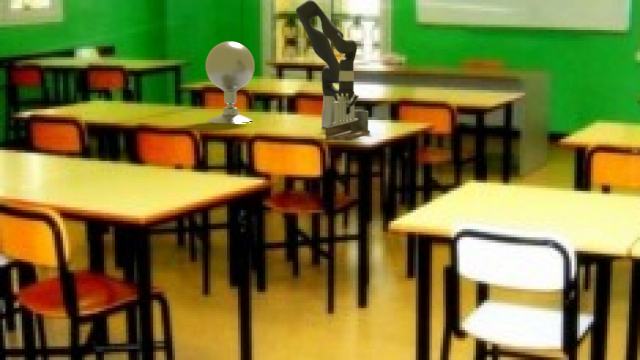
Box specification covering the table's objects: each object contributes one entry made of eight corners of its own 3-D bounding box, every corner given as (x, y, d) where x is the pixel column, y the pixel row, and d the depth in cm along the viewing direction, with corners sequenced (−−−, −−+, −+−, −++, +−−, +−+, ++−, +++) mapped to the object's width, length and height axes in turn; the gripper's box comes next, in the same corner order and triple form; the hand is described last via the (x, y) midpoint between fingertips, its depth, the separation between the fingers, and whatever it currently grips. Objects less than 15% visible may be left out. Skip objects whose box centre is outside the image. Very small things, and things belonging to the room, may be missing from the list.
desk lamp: (203, 123, 564) (202, 42, 557) (209, 117, 592) (208, 40, 584) (252, 123, 564) (252, 42, 556) (256, 118, 591) (256, 40, 583)
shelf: (325, 138, 501) (325, 115, 499) (348, 132, 529) (348, 110, 527) (348, 140, 496) (348, 116, 494) (369, 133, 524) (370, 111, 523)
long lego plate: (350, 119, 522) (350, 94, 520) (358, 120, 520) (358, 94, 518) (331, 124, 499) (332, 97, 497) (340, 124, 498) (340, 98, 496)
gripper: (330, 79, 506) (330, 114, 509) (356, 80, 501) (355, 115, 504) (336, 78, 513) (336, 112, 516) (361, 79, 507) (361, 114, 510)
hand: (345, 114), depth 510 cm, fingers closed on long lego plate
